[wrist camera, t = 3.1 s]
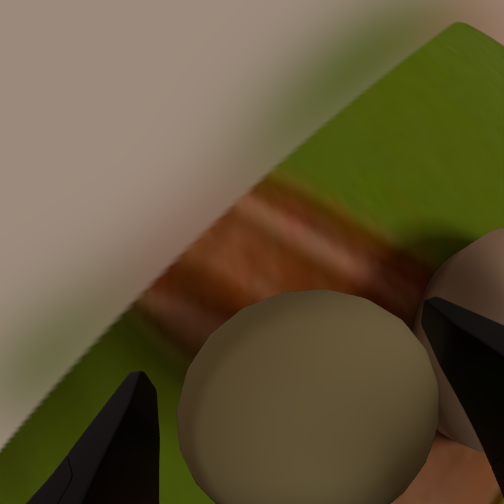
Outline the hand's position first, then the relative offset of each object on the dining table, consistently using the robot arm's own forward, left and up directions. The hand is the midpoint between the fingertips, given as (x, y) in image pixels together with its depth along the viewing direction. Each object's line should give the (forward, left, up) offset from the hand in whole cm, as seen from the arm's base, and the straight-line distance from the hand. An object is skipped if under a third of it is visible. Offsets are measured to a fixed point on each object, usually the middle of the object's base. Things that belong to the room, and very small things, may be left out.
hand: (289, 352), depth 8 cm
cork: (-1, -1, -7) cm, 7 cm away
